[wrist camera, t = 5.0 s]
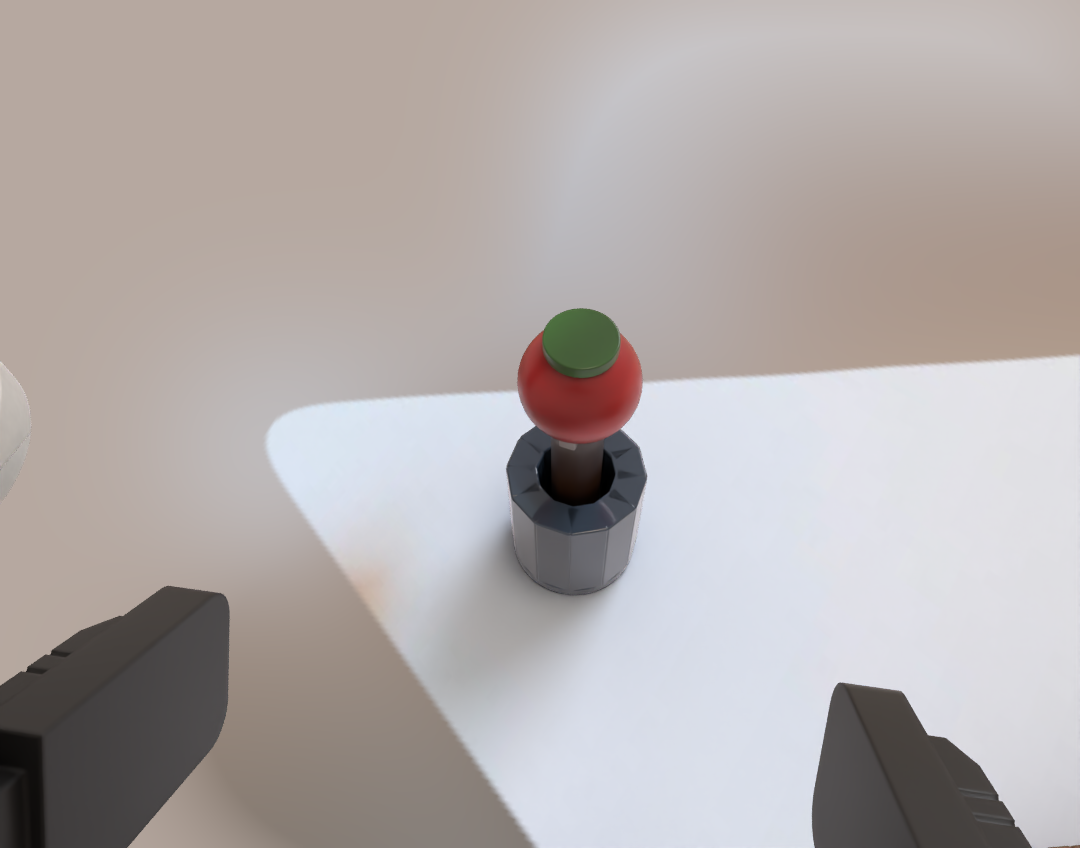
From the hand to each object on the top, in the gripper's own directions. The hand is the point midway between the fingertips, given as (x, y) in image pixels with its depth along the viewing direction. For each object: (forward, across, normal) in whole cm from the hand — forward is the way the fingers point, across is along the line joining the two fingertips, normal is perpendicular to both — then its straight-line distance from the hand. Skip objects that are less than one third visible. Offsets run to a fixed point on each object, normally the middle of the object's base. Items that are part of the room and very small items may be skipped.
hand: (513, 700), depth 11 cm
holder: (+20, 0, +5) cm, 21 cm away
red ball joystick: (+20, 0, +4) cm, 20 cm away
